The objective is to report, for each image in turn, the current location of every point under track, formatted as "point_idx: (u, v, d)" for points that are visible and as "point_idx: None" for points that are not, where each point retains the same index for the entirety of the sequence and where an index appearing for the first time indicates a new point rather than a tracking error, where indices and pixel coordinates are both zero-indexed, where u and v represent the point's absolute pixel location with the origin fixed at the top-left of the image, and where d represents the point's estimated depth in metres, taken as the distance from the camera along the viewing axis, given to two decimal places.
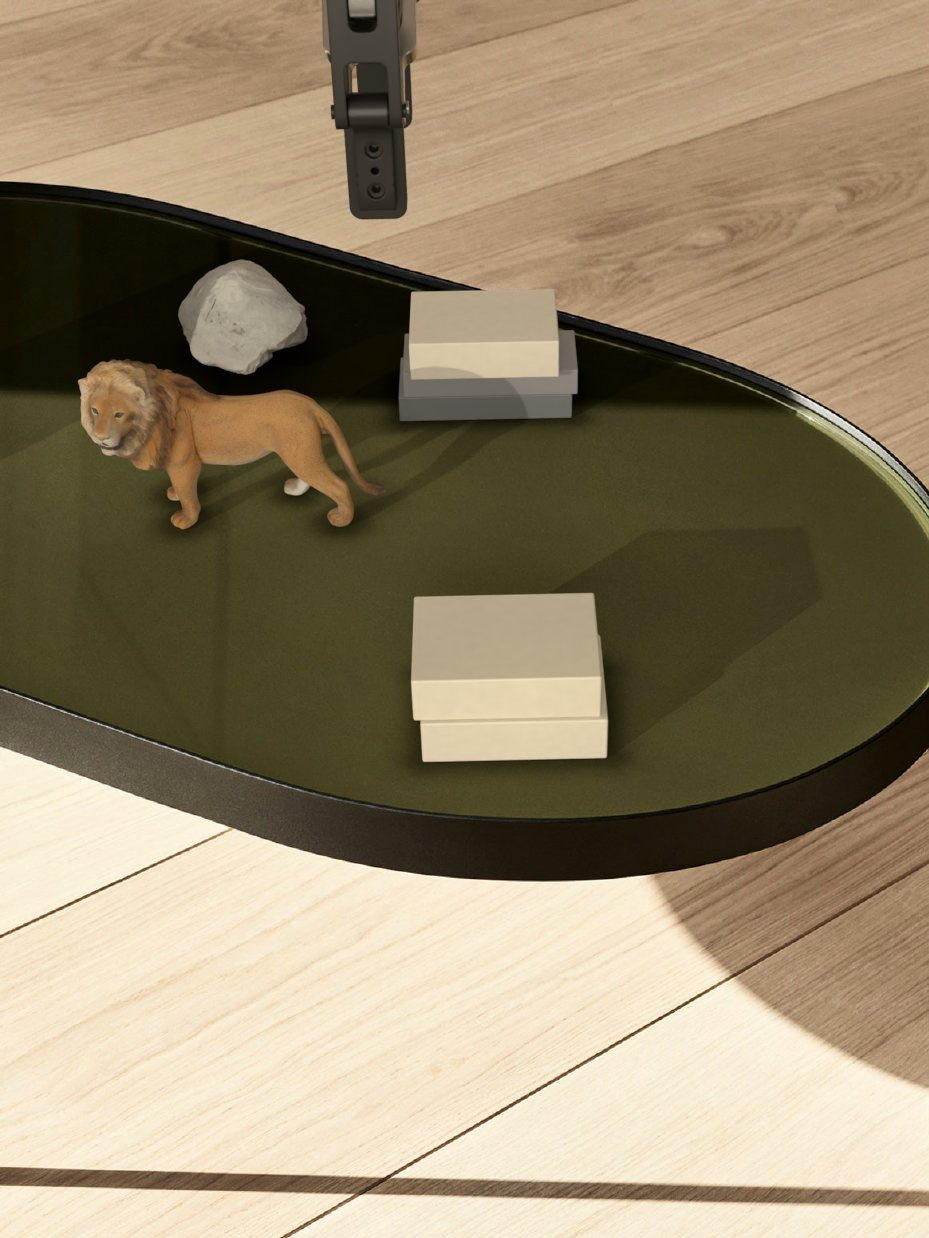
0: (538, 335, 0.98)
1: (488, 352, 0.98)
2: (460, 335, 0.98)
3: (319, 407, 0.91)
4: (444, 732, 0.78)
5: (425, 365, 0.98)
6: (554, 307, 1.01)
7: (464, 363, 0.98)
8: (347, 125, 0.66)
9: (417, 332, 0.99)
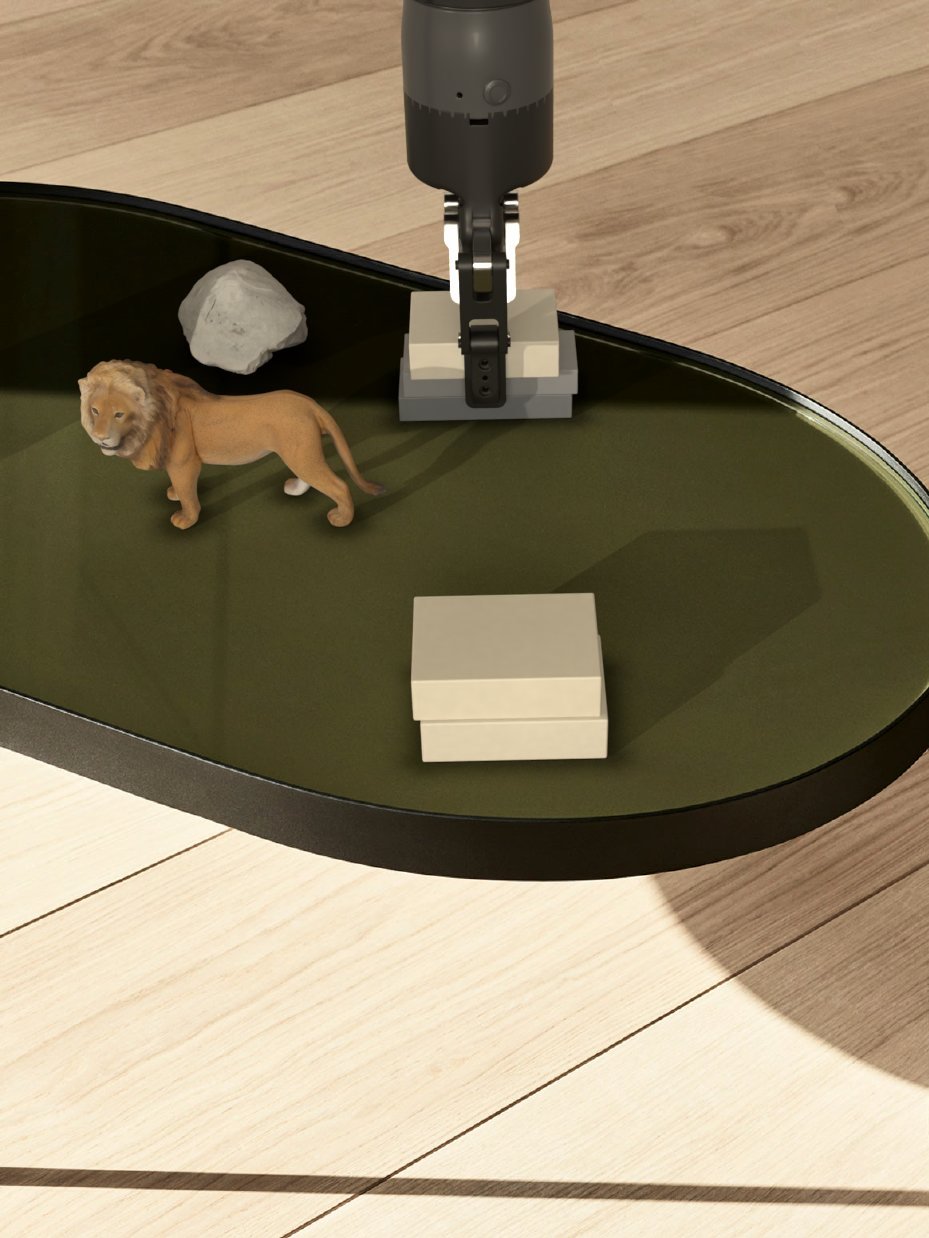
0: (538, 335, 0.98)
1: None
2: None
3: (319, 407, 0.91)
4: (444, 732, 0.78)
5: (425, 365, 0.98)
6: (554, 307, 1.01)
7: None
8: (469, 352, 0.95)
9: (417, 332, 0.99)
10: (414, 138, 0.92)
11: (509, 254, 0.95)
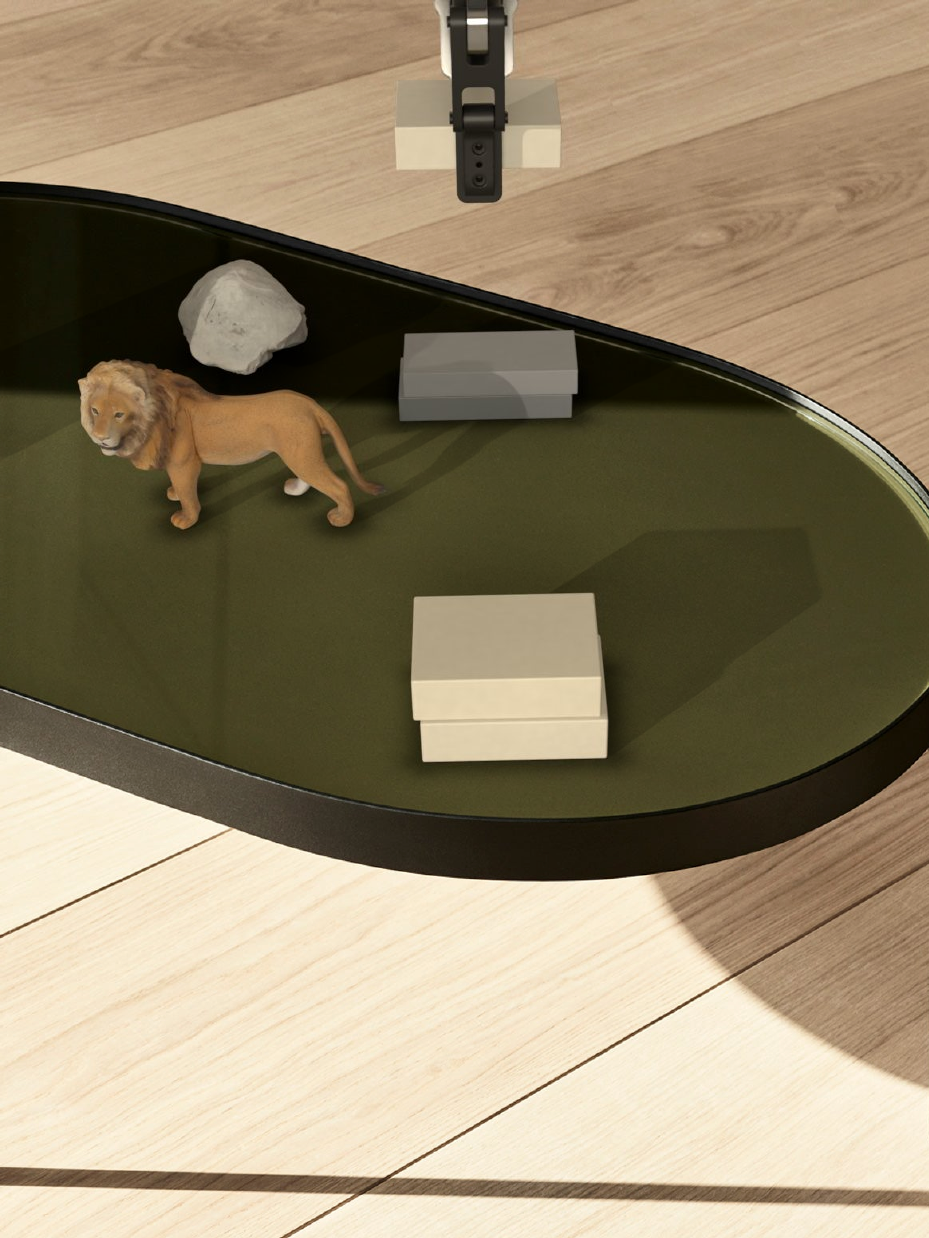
0: (538, 119, 0.88)
1: None
2: None
3: (319, 407, 0.91)
4: (444, 732, 0.78)
5: (412, 153, 0.89)
6: (555, 94, 0.91)
7: None
8: (462, 129, 0.85)
9: (404, 116, 0.89)
10: None
11: None
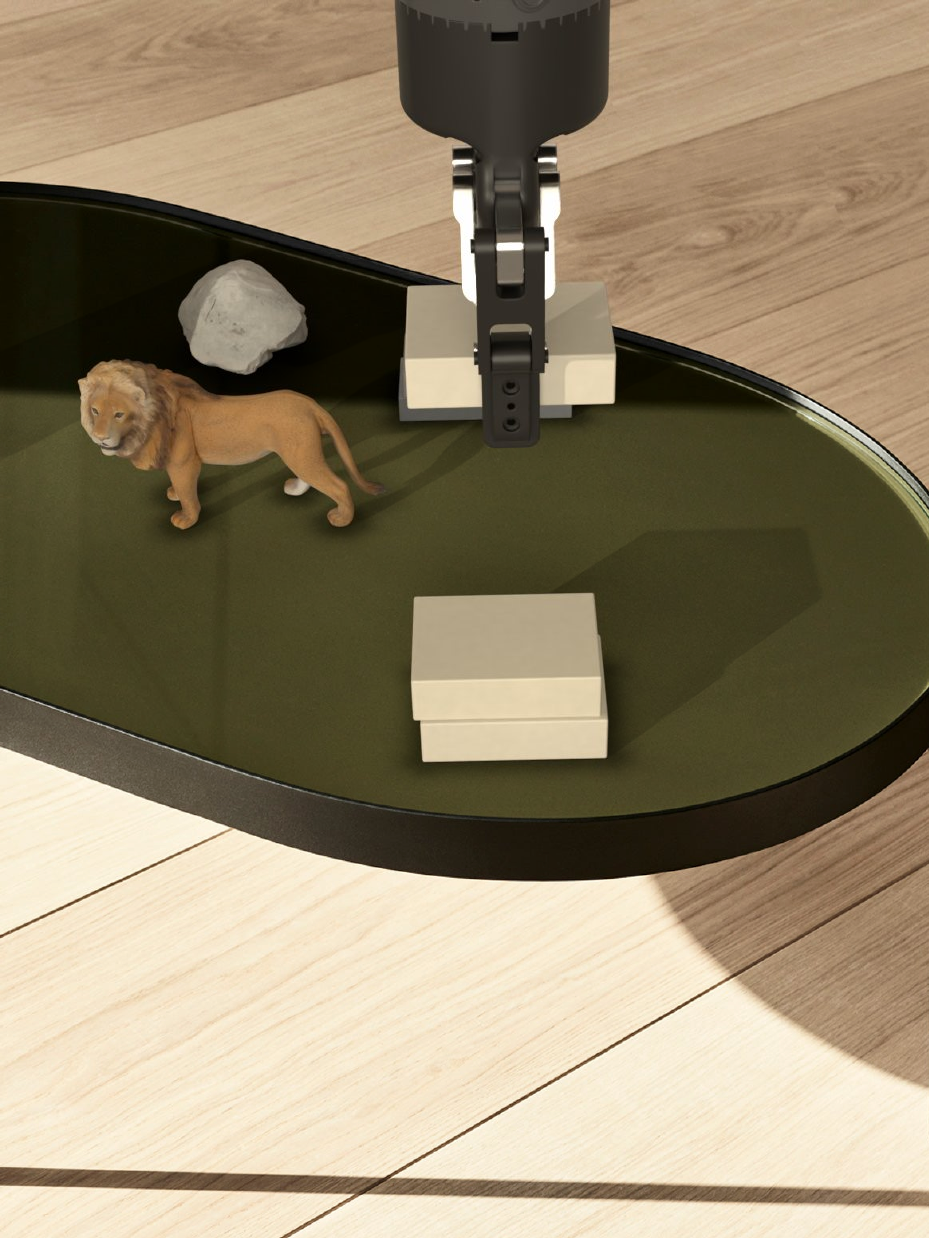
0: (585, 346, 0.70)
1: None
2: None
3: (319, 407, 0.91)
4: (444, 732, 0.78)
5: (428, 388, 0.70)
6: (606, 306, 0.72)
7: None
8: (490, 371, 0.66)
9: (417, 342, 0.70)
10: (411, 64, 0.63)
11: (546, 232, 0.67)
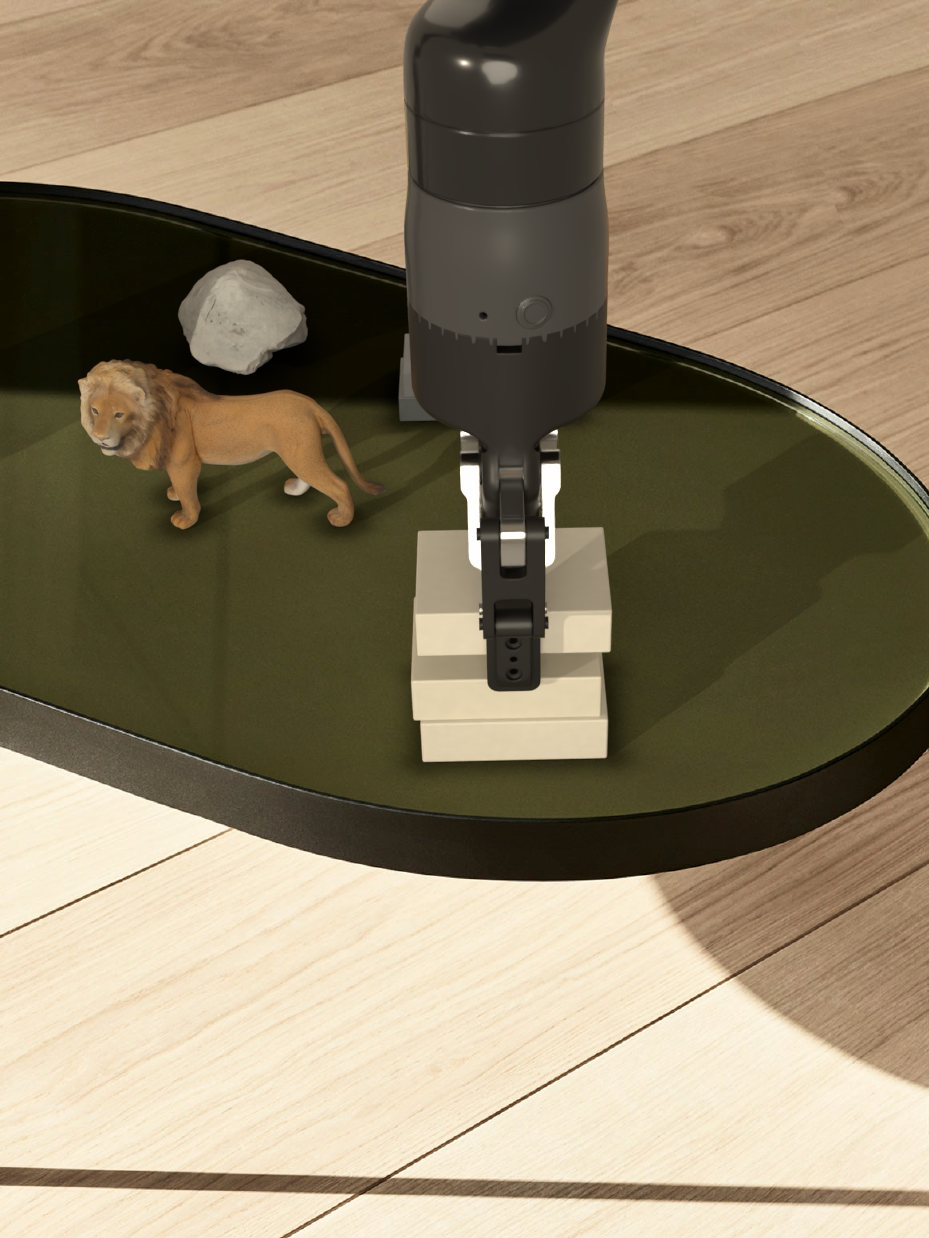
0: (584, 601, 0.75)
1: None
2: None
3: (319, 407, 0.91)
4: (444, 732, 0.78)
5: (436, 639, 0.75)
6: (603, 556, 0.77)
7: None
8: (494, 637, 0.71)
9: (426, 595, 0.76)
10: (422, 363, 0.68)
11: (547, 506, 0.72)
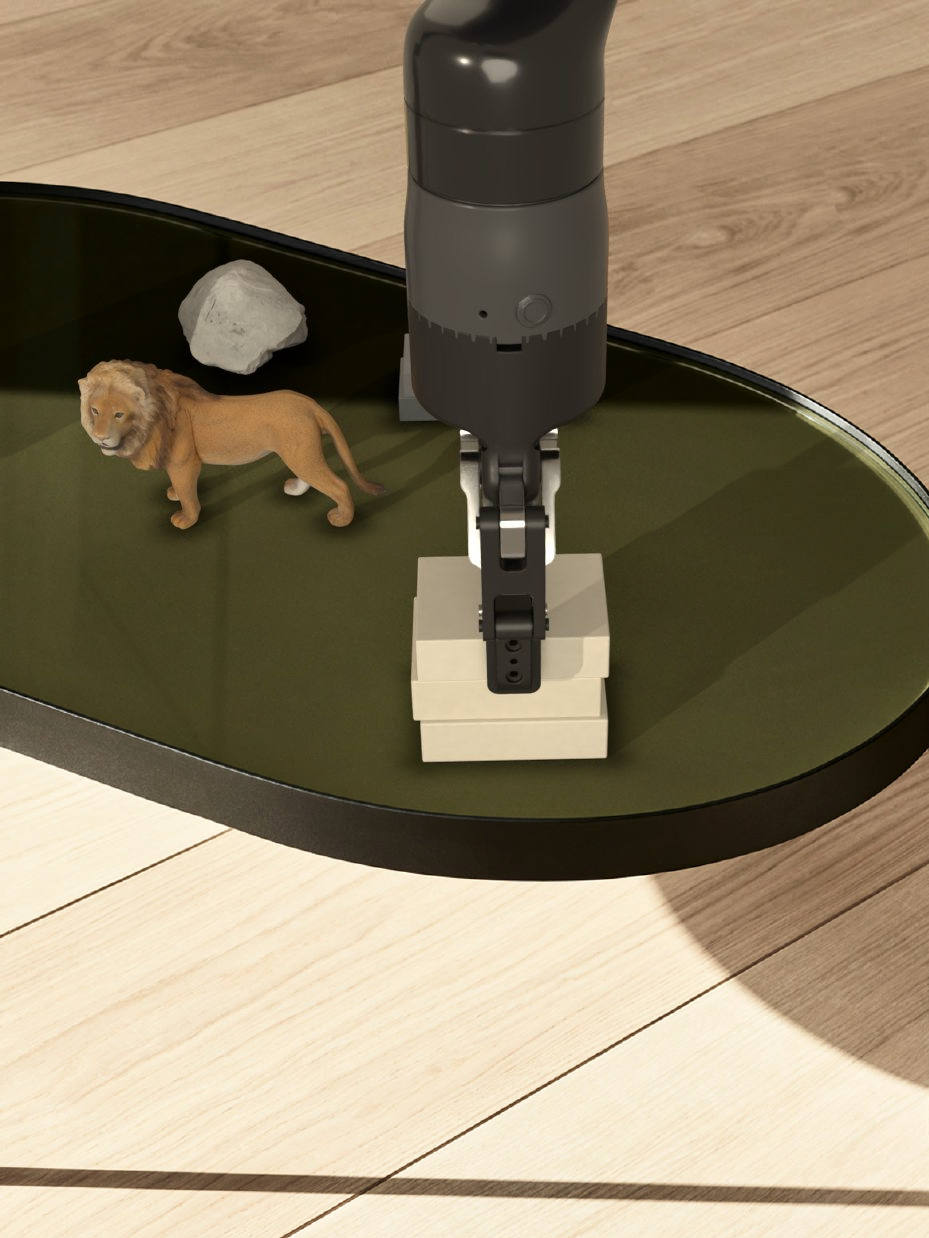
0: (582, 627, 0.76)
1: None
2: None
3: (319, 407, 0.91)
4: (444, 732, 0.78)
5: (436, 665, 0.76)
6: (601, 582, 0.78)
7: None
8: (494, 639, 0.71)
9: (426, 621, 0.76)
10: (422, 362, 0.68)
11: (546, 502, 0.72)
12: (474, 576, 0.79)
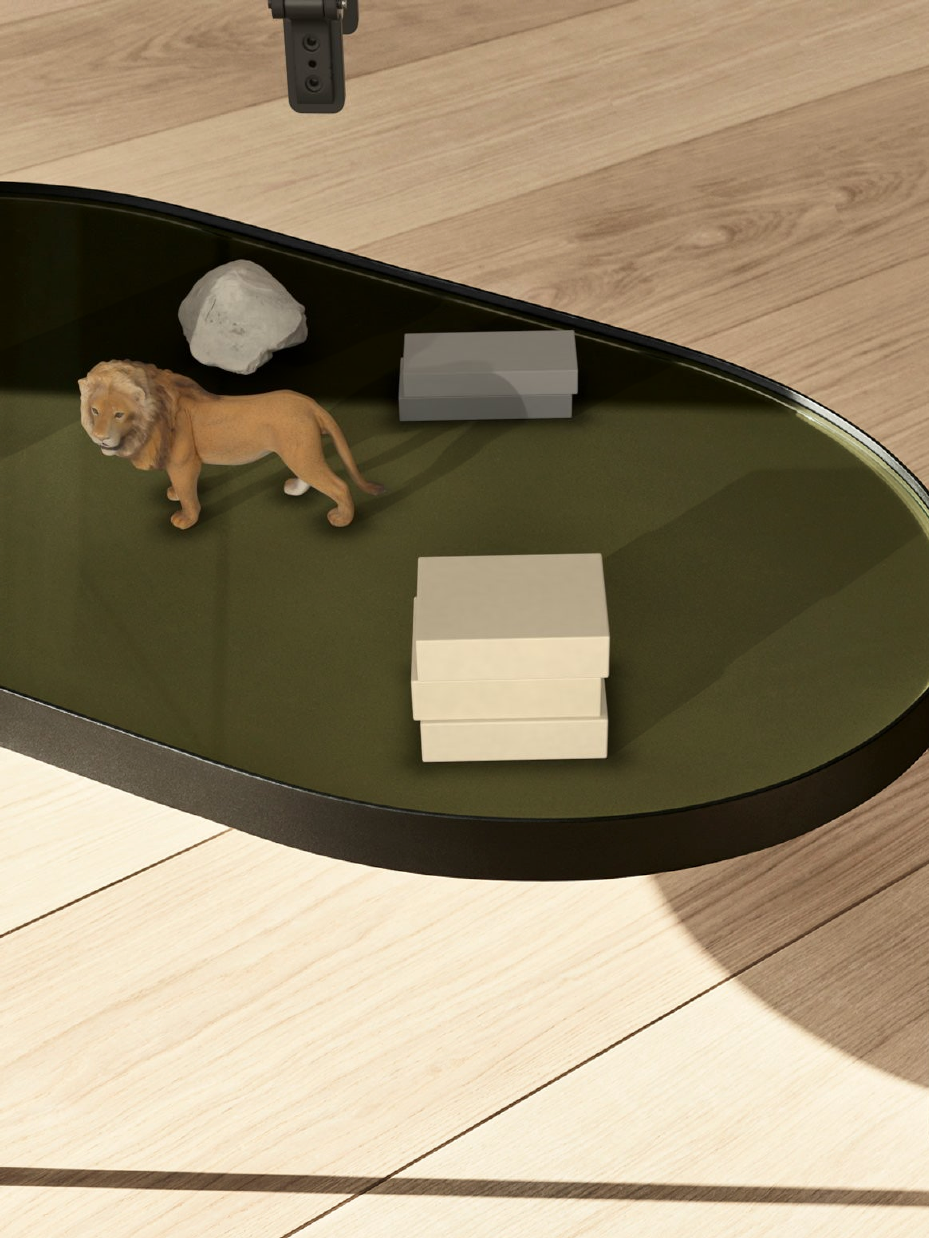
0: (582, 627, 0.76)
1: (518, 650, 0.76)
2: (482, 627, 0.76)
3: (319, 407, 0.91)
4: (444, 732, 0.78)
5: (436, 665, 0.76)
6: (601, 582, 0.78)
7: (487, 663, 0.76)
8: (283, 14, 0.68)
9: (426, 621, 0.76)
10: None
11: None
12: (474, 576, 0.79)
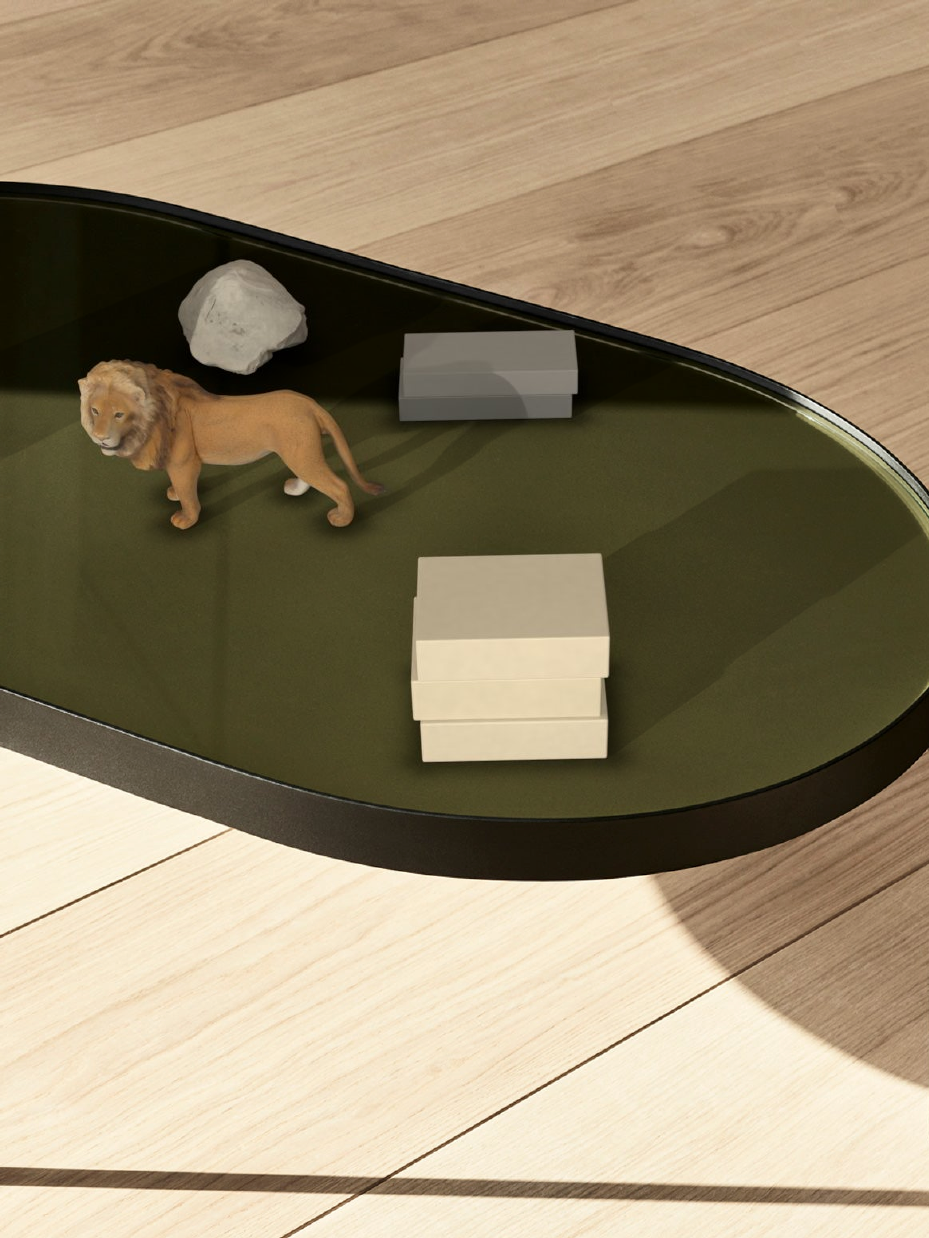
0: (582, 627, 0.76)
1: (518, 650, 0.76)
2: (482, 627, 0.76)
3: (319, 407, 0.91)
4: (444, 732, 0.78)
5: (436, 665, 0.76)
6: (601, 582, 0.78)
7: (487, 663, 0.76)
8: None
9: (426, 621, 0.76)
10: None
11: None
12: (474, 576, 0.79)
